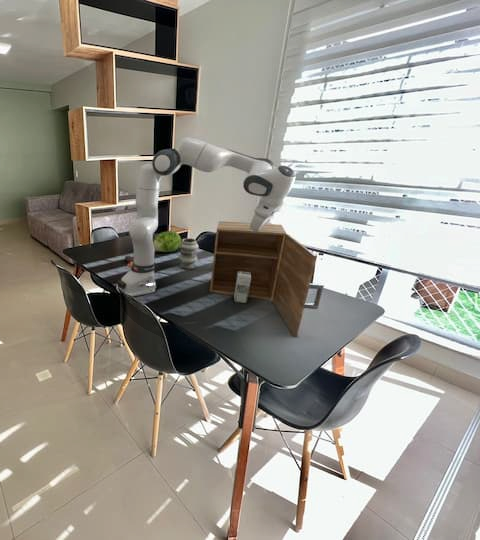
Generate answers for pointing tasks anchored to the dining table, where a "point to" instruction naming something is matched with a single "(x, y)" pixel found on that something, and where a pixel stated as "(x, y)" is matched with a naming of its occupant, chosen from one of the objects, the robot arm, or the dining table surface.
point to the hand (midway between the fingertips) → (259, 227)
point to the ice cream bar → (129, 259)
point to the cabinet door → (295, 283)
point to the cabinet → (247, 257)
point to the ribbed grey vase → (188, 253)
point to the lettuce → (167, 242)
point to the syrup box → (242, 287)
